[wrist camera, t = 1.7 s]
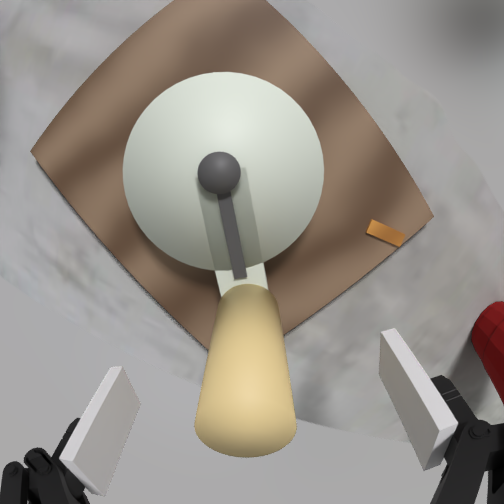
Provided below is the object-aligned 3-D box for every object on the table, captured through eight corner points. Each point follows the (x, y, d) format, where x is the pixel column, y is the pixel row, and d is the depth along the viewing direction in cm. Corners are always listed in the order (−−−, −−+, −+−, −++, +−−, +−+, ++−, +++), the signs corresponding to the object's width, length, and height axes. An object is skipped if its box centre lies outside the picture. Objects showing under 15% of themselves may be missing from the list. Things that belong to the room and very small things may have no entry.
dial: (120, 105, 18) (-3, 76, 7) (299, 66, 17) (354, -25, 6) (176, 332, 23) (130, 457, 12) (333, 308, 23) (389, 431, 11)
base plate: (37, 150, 20) (28, 151, 19) (225, -28, 16) (224, -35, 15) (231, 362, 26) (230, 371, 24) (427, 213, 22) (435, 217, 20)
